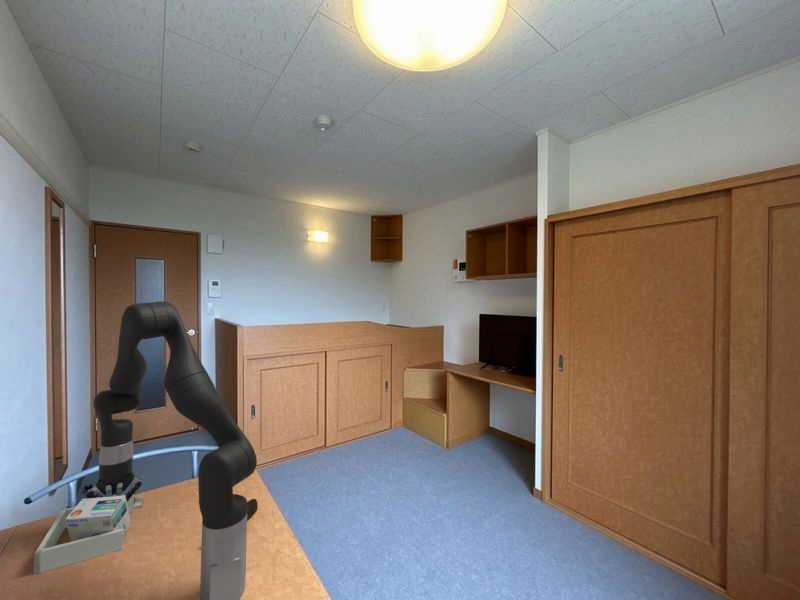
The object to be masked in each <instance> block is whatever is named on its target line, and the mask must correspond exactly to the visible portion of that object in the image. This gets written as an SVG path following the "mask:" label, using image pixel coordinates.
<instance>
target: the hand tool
mask: <svg viewBox="0 0 800 600" xmlns="http://www.w3.org/2000/svg"><path fill="white" fill-rule="evenodd" d="M247 503H248V509H247V522H249V521H250V520H251V518H253V516H254V515H255V513H256V512H257V511H258V507H259V506H258V505H259V504H258V501H257V498H251V499H249V500H247Z"/></svg>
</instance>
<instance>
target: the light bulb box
mask: <svg viewBox="0 0 800 600" xmlns="http://www.w3.org/2000/svg"><path fill="white" fill-rule="evenodd" d="M125 495H126V494H123V495H119V496H116V495H114V496H110V497H106V496H103V497H99V498H87V497H85V498H81V499H80V501H79V502H78V503H77V505H76V506H74V507H75V508H74V509H73V511H72V512H71V513H70V514H69V515H68V516H67V518H66V519H65V520H66V524H67V530H68V535H69V539H70V542H73V541H76V540H80V539H84V538H88V537H92V536H96V535H100V534H104V533H108V532H111V531H115V530H119V529H123V537H124V536H125V534H126V533H127V531H128V529H129V528H130V526H131V525H132V522H131V521H132V520H131V517H130V513H129V511H128V506H127V501H126V496H125Z"/></svg>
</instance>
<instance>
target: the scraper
mask: <svg viewBox="0 0 800 600" xmlns="http://www.w3.org/2000/svg"><path fill="white" fill-rule="evenodd" d="M144 497H145V495H141V496H134V503H133V510H136V509H141V508H142V506H143V502H144Z"/></svg>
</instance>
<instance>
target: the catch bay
mask: <svg viewBox="0 0 800 600" xmlns="http://www.w3.org/2000/svg"><path fill="white" fill-rule="evenodd" d="M134 497H135V493H134V494H133V496H132V497H131V498H130V499H129V500H128V501H127V506H128V511H129V514H130V513H133V512H134V507H133V503H134ZM75 507H76V506H73V507H69V508H64V509H61V511H60V512H59V514H58V515H57V517H56V519H55V520H54V522H53V524H52V525H51V526H50V529H49V530H48V531H47V533H46V535H45V536H44V538H43V539H42V541H41V542H40V544H39V546H38V548H37V549H36V551H35V552H34V559H33V561H34V564H33V566H34V567H33V575H36V574H40V573H45V572H48V571H51V570H54V569H59V568H61V567H65V566H68V565H72V564H76V563H79V562H83V561H86V560H90V559H93V558H96V557H100V556H103V555H108V554H111V553H115V552H119V551H122V550H123V546H124V545H123V543H124V536H123V529H119V530H115V531H111V532H108V533H104V534H100V535H96V536H92V537H88V538H84V539H80V540H76V541H73V542H71V541H69V542H64V543H62V544H58V545H57V543H58V542H59V540H60V537H61V535H62V534H63V533H64V531H65V529H66V528H67V524H66V520H65V519H66V518H67V516H68V515H69V514H70V513H71V512H72V511H73V509H74V508H75ZM67 529H68V528H67Z"/></svg>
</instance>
